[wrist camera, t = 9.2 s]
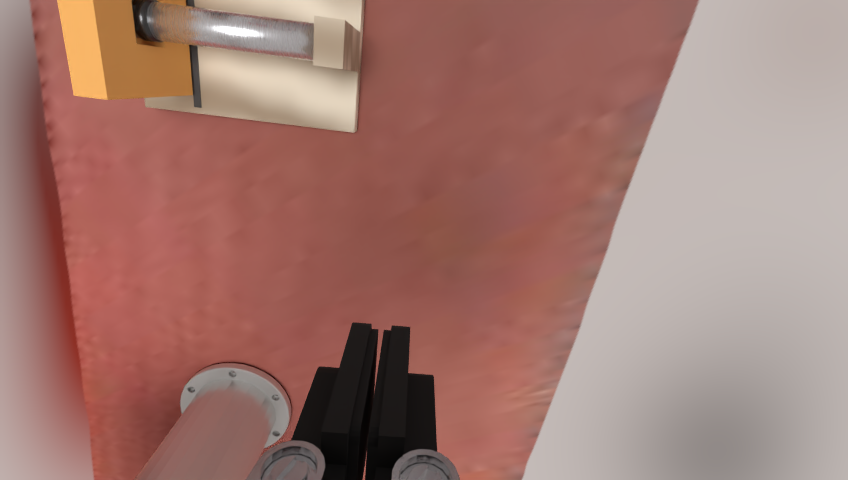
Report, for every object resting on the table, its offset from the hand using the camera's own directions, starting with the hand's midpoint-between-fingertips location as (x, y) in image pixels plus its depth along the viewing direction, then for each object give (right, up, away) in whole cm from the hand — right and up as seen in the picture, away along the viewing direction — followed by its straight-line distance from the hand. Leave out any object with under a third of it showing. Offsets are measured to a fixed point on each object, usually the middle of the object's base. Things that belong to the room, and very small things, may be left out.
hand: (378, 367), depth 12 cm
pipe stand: (-13, +21, +23) cm, 34 cm away
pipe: (-13, +19, +18) cm, 29 cm away
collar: (-19, +21, +21) cm, 35 cm away
